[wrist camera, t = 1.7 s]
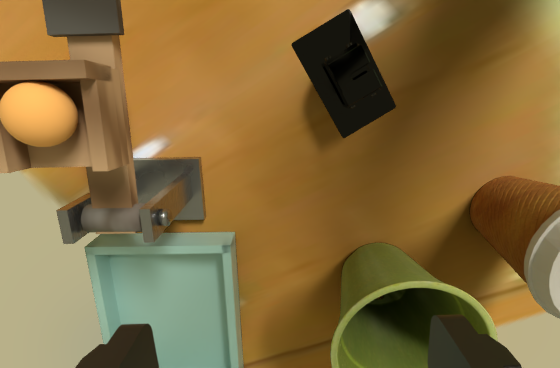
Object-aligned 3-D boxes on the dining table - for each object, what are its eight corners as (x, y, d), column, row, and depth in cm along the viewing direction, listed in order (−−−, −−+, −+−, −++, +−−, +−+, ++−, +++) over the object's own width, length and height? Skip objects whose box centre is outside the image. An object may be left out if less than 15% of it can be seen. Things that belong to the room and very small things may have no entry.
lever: (165, 225, 25) (114, 275, 18) (85, 226, 25) (1, 276, 18) (140, -28, 22) (61, -101, 14) (47, -25, 22) (-80, -96, 14)
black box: (410, 117, 31) (430, 122, 27) (340, 157, 32) (348, 167, 28) (348, -12, 28) (359, -31, 24) (273, 36, 29) (271, 26, 25)
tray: (101, 233, 34) (56, 269, 28) (234, 231, 34) (222, 267, 27) (126, 373, 39) (93, 433, 32) (244, 373, 39) (235, 433, 32)
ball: (30, 88, 18) (-24, 75, 15) (89, 87, 18) (47, 73, 15) (35, 148, 19) (-17, 147, 15) (93, 146, 18) (52, 145, 15)
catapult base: (205, 216, 34) (171, 272, 23) (126, 217, 34) (57, 273, 24) (200, 157, 32) (160, 189, 22) (117, 158, 32) (38, 191, 22)
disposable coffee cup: (478, 268, 35) (574, 358, 23) (435, 194, 33) (517, 253, 21) (568, 219, 33) (719, 290, 22) (529, 139, 31) (673, 170, 19)
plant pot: (404, 198, 33) (462, 254, 22) (449, 292, 36) (521, 382, 25) (296, 251, 35) (301, 327, 24) (347, 337, 37) (373, 439, 26)
